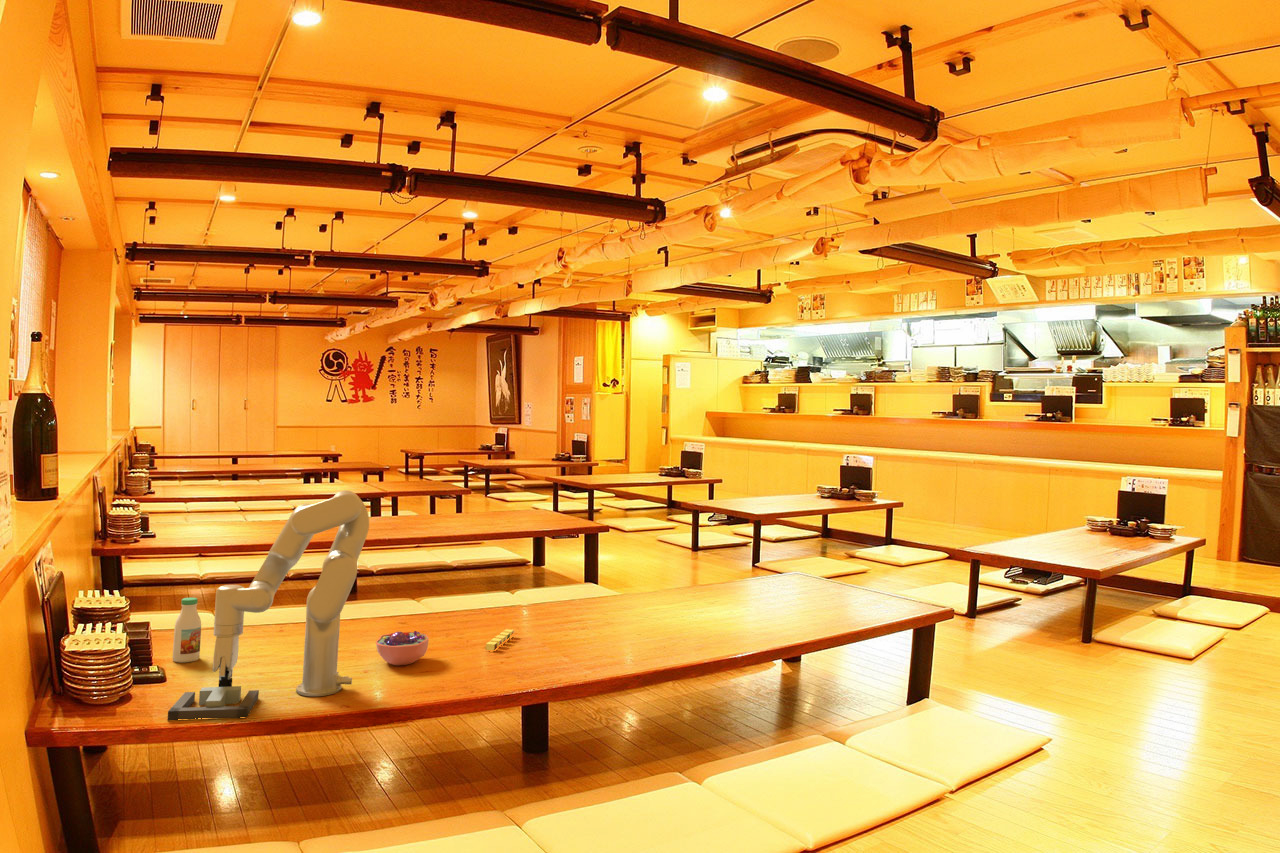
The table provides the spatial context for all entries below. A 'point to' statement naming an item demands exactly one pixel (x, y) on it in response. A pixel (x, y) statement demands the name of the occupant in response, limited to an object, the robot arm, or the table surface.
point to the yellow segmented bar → (499, 639)
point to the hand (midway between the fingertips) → (224, 692)
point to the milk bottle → (187, 633)
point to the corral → (211, 708)
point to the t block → (219, 696)
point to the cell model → (402, 647)
